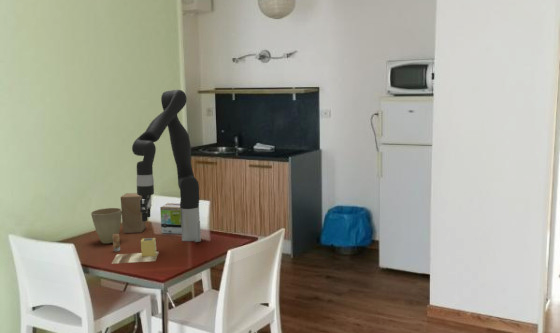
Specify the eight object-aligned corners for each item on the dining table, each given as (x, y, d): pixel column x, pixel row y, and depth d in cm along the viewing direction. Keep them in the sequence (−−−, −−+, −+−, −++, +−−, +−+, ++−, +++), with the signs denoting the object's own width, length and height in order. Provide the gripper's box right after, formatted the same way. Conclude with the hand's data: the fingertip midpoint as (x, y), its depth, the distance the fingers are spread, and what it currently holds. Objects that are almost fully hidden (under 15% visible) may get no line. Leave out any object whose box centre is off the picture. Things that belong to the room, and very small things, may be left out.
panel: (159, 254, 259) (158, 251, 258) (155, 263, 245) (155, 260, 245) (117, 256, 257) (116, 254, 256) (111, 266, 243) (111, 263, 243)
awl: (121, 252, 264) (119, 233, 263) (119, 253, 261) (118, 235, 260) (114, 252, 264) (113, 234, 262) (113, 254, 261) (111, 235, 259)
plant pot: (113, 236, 294) (110, 206, 291) (129, 240, 284) (127, 209, 282) (87, 242, 282) (85, 212, 280) (104, 247, 273) (101, 215, 271)
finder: (156, 252, 257) (155, 237, 256) (155, 255, 252) (154, 240, 251) (143, 253, 257) (142, 238, 256) (141, 256, 252) (140, 241, 251)
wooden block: (141, 232, 299) (138, 196, 296) (122, 233, 299) (120, 196, 296) (146, 228, 309) (143, 192, 306) (128, 228, 309) (125, 193, 306)
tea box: (161, 233, 295) (159, 206, 293) (168, 229, 305) (167, 202, 303) (187, 234, 292) (186, 207, 290) (194, 229, 302) (193, 203, 300)
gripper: (151, 186, 246) (152, 222, 249) (155, 181, 261) (157, 215, 263) (133, 186, 246) (135, 222, 248) (139, 181, 260) (140, 215, 262)
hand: (146, 219), depth 255 cm, fingers open, 8 cm apart
